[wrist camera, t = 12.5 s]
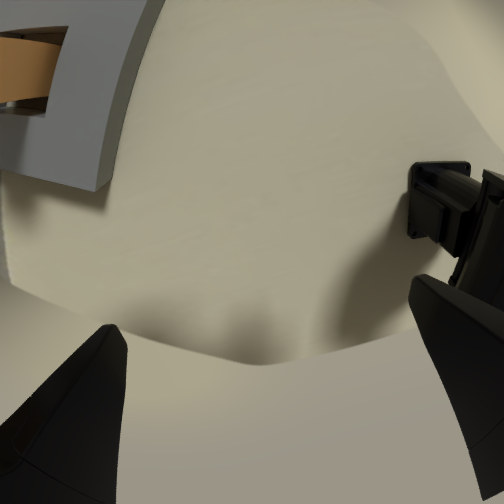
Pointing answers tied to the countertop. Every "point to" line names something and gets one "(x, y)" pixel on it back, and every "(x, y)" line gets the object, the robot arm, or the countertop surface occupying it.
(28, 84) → the plug
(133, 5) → the socket
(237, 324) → the countertop surface
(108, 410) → the robot arm
